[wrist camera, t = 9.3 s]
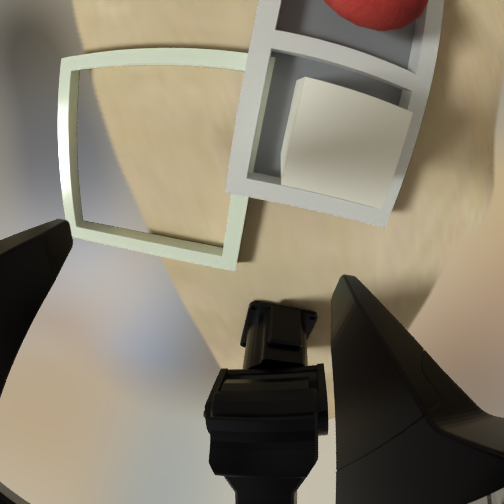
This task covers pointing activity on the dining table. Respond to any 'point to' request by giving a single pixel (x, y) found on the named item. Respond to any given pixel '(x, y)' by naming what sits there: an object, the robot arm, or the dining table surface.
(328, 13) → the grey divided tray
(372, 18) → the onion
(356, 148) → the cream block
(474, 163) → the dining table surface
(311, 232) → the dining table surface
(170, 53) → the pale green square frame
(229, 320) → the dining table surface
